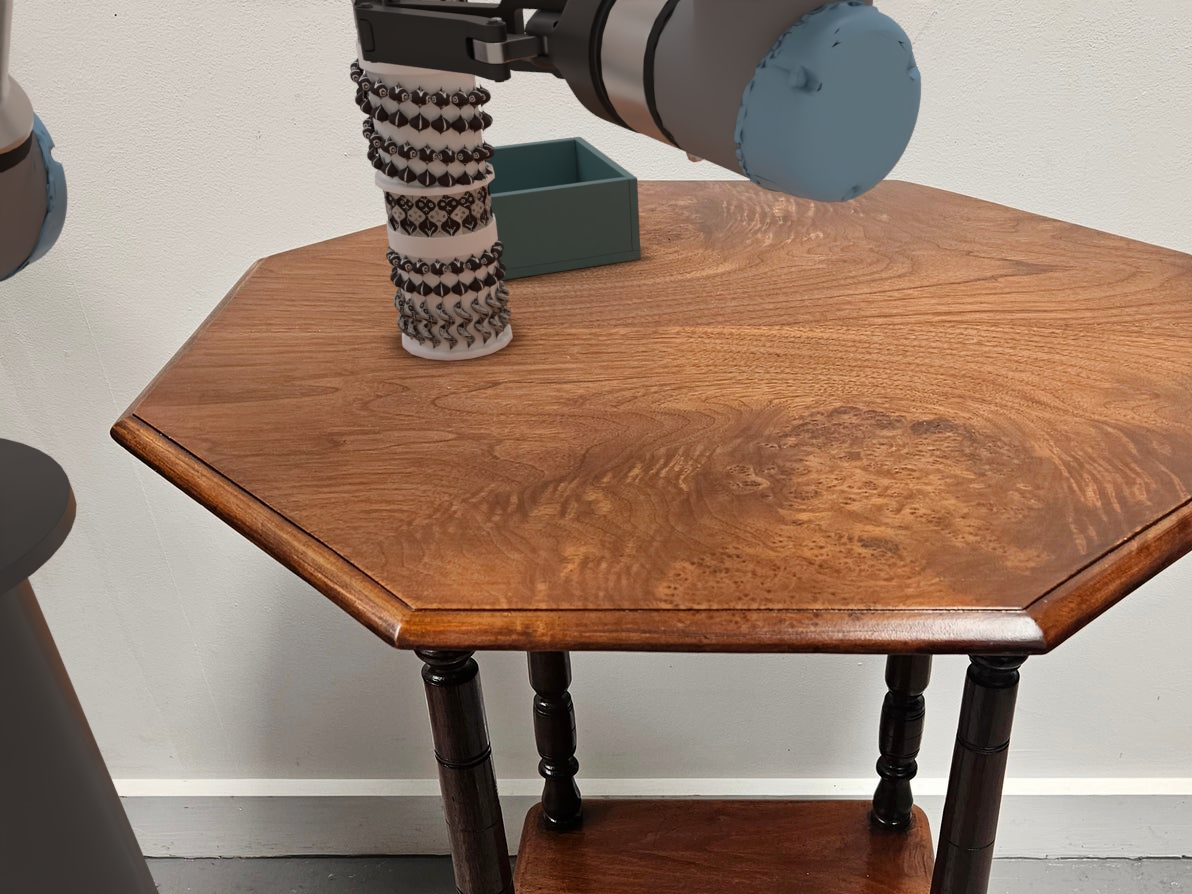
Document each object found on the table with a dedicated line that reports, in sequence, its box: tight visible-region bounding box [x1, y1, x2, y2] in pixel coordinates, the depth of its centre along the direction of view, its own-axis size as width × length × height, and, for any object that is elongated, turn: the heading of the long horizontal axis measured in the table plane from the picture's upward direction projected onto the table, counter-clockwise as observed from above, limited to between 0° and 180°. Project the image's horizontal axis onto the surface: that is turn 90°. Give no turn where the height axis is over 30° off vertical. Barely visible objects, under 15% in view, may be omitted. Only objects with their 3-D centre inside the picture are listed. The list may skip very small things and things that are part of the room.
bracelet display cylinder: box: [349, 0, 514, 362], centre depth 88 cm, size 9×9×25 cm
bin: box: [486, 136, 642, 281], centre depth 110 cm, size 15×15×7 cm
